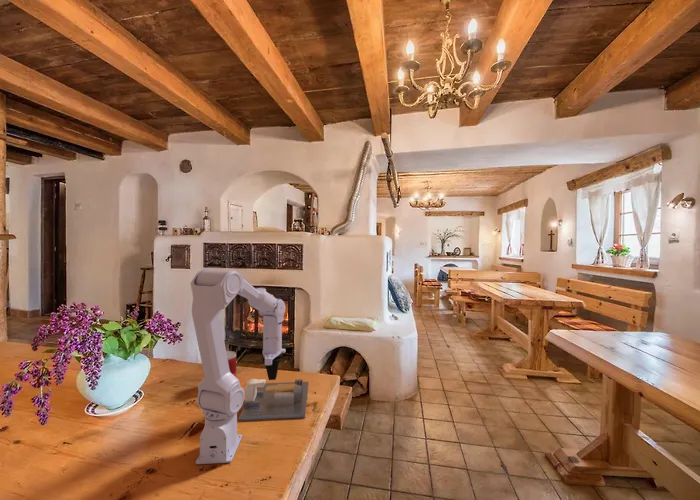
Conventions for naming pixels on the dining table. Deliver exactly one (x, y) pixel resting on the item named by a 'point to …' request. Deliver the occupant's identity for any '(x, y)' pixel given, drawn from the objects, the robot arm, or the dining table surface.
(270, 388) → the strap
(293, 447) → the dining table surface
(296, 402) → the base plate
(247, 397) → the latch
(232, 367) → the canned food
